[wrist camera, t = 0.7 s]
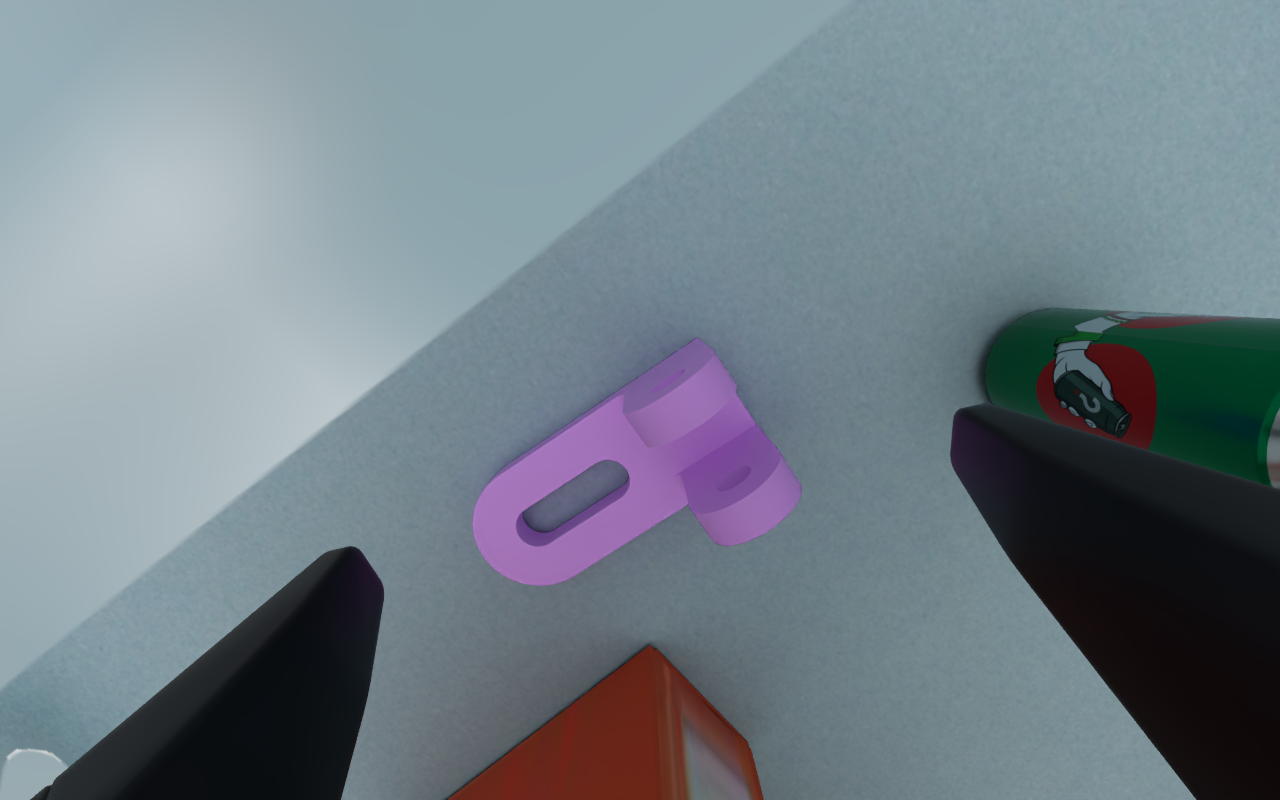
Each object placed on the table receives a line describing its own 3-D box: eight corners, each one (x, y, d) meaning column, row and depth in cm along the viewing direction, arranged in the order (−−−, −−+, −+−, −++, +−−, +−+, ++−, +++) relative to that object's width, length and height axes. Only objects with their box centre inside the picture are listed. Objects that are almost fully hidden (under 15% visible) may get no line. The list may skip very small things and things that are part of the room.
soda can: (1020, 446, 24) (1382, 596, 12) (953, 363, 23) (1271, 440, 12) (1117, 369, 23) (1597, 453, 12) (1051, 282, 23) (1495, 276, 11)
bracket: (697, 337, 23) (722, 357, 16) (765, 441, 24) (815, 501, 17) (457, 498, 25) (387, 579, 18) (530, 590, 26) (490, 700, 19)
